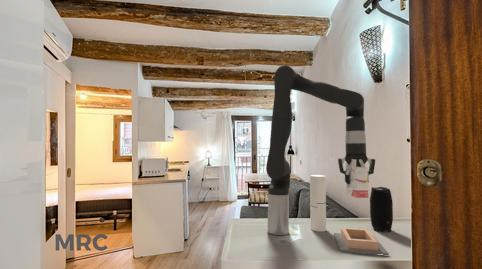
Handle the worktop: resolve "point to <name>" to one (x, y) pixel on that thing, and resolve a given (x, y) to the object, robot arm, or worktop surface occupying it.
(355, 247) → the dock
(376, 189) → the portable speaker
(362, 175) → the ink cartridge box
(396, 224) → the worktop surface
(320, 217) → the cylindrical container
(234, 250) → the worktop surface
